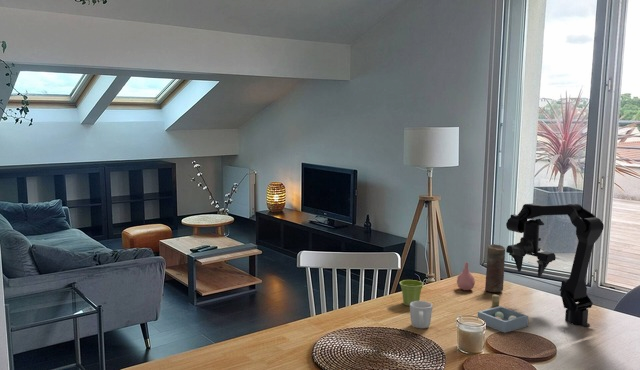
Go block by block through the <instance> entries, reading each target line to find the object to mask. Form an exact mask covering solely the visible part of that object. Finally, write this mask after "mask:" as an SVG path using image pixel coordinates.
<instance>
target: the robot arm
mask: <svg viewBox="0 0 640 370" xmlns="http://www.w3.org/2000/svg"><path fill="white" fill-rule="evenodd" d="M565 215H566V216H568V217H569V219H570V223H571V224H572V225H573V226H574V227H575V234H576V237H577V245H576V248H575V254H574V257H573V262H572V265H571V270H570V274H569V278H568V279H565V280H562V281H561V286H560V288H559V292H560V298H561V301H562V304H563V308H564V309H565V316H564V319H565V320H564V321H566V322H567V323H569V324H571V325H574V326H580V327H583V328H586V327H589V326H591V324H590V323H588V321H589V320H588V318H589V309H591V308H592V307H593V301H592V300H591V298H590V297H589V296H588V294H587V292H588V291H587V290H588V287H587V285H586V276H587V272H588V268H589V264H590V260H591V256H592V252H593V248H594V244H595V243H596V242H597V241H598V240H599V239H600V238H601V235H602V232H603V230H604V223H603V222H602V219H600V218H599V217H597V216H596V215H595V214H594V213H592V212H591V211H589V210H587V209H585V208H584V207H583V206H582V205H581V204H579V203H568V204H554V205H548V204H544V203H540V202H539V203H538V202H534V203H533V202H532V203H525V204H523V205H522V208H521V210H520V211H519V212H518V214H513V213H512V214H510V217H509V218H508V219H507V220H506V221H507V222H506V223H505V225H506V229H507V230H508V231H510V232H515V233H519V234H522V237H520V241H519V242H518V243H515V244H510V245H507V246H506V247H505V253H507V254H508V255H509V256H511V257H512V258H513V260H514V263H515V267H516V269H517V272H519V273H520V272H521V271H522V267H523V262H524V257H525V256H526V255H527V256H532V257H536V258H537V260H536V263H537V266H538V267H537V277H538V278H541V277H542V275H543V274H544V272H545V269H546V268H547V267H548V265H549V264H550V263H552V262H553V261H556V254H555V252H552V251H547V250H545V251H541V248H540V247H539V243H540V242H541V241H542V239H541V237H540V227H541V226H545V223H544V221H542V220H541V218H543V217H546V216H565Z"/></svg>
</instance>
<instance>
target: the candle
mask: <svg viewBox="0 0 640 370" xmlns="http://www.w3.org/2000/svg"><path fill="white" fill-rule="evenodd" d="M486 253H487V254H486V255H487V256H486V271H485V272H486V273H485V285H484V291H487V292H490V293H501V292H502V291H503V290H504V282H505V281H504V278H505V260H506V259H505V258H506V247H505V246H503V245H501V244H496V243H495V244H494V243H493V244H489V245H488V246H487V252H486Z"/></svg>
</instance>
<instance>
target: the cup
mask: <svg viewBox="0 0 640 370" xmlns="http://www.w3.org/2000/svg"><path fill="white" fill-rule="evenodd" d="M409 311H410V313H409V315H410V323H411V325H412V327H414V328H417V329H427V328H429V327H430V325H431V322H432V315H433V314H432V313H433V304H432V302H429V301H425V300H424V301H423V300H419V301H414V302H411V303H410V305H409Z"/></svg>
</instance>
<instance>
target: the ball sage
mask: <svg viewBox="0 0 640 370" xmlns="http://www.w3.org/2000/svg"><path fill="white" fill-rule="evenodd" d="M495 317H500V318H501V319H502V320H503V319H504V314H503V313H502V312H496V313H495Z"/></svg>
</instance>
